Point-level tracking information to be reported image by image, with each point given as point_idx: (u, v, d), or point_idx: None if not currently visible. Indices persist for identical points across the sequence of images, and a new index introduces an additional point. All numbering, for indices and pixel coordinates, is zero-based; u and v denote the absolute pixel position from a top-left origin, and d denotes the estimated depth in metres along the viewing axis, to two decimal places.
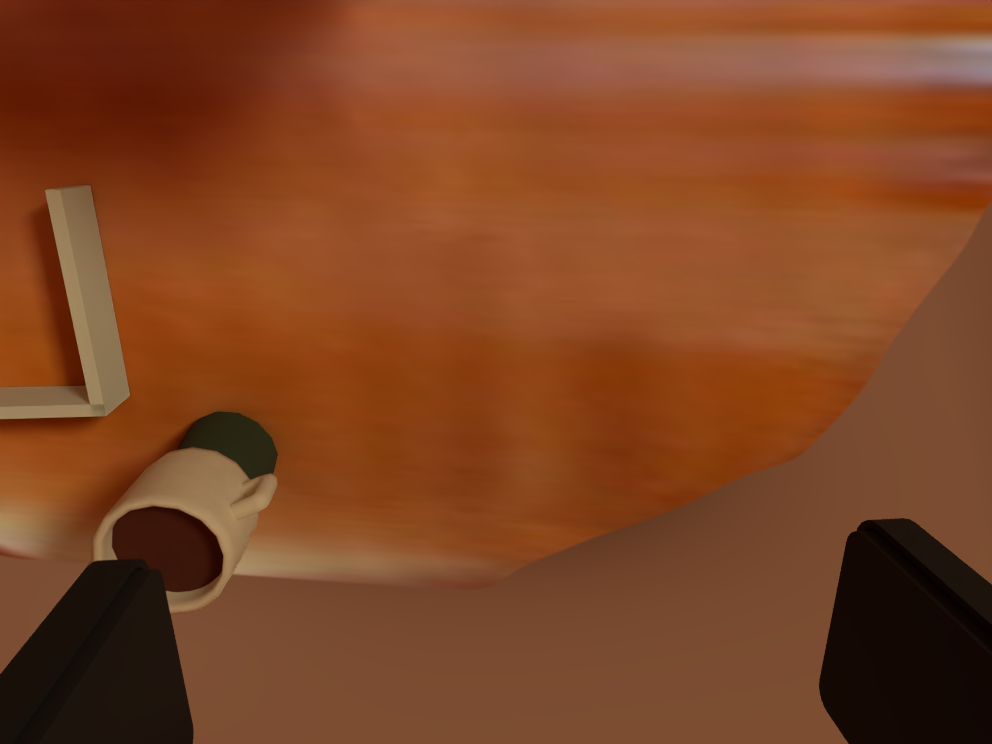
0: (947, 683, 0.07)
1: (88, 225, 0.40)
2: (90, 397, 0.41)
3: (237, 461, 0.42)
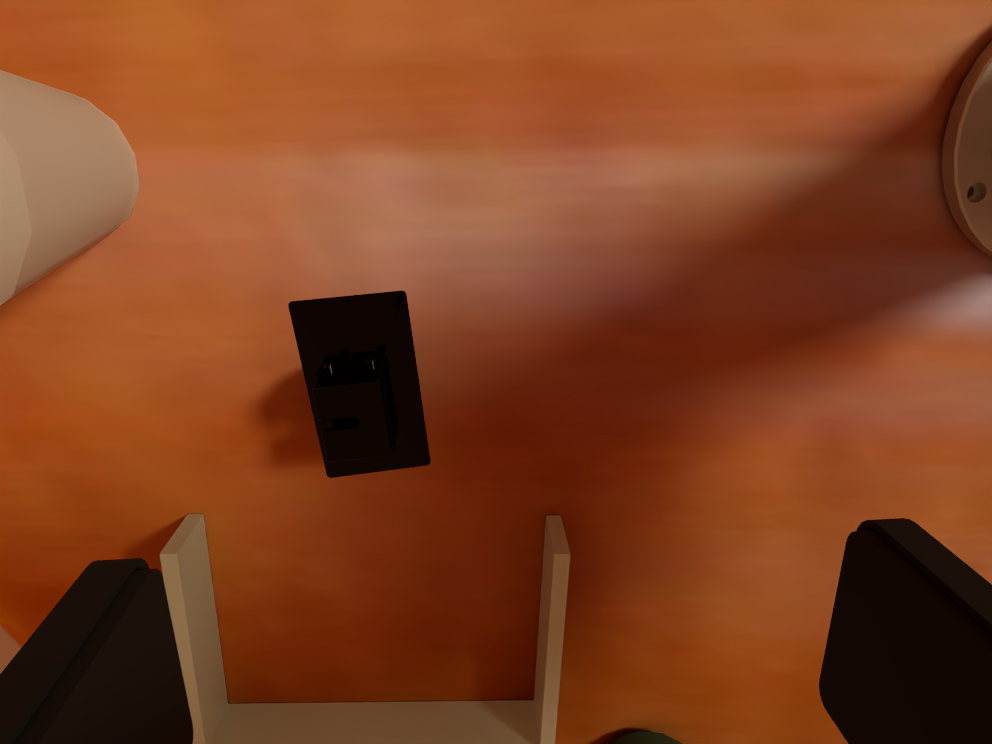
0: (947, 684, 0.07)
1: None
2: None
3: None
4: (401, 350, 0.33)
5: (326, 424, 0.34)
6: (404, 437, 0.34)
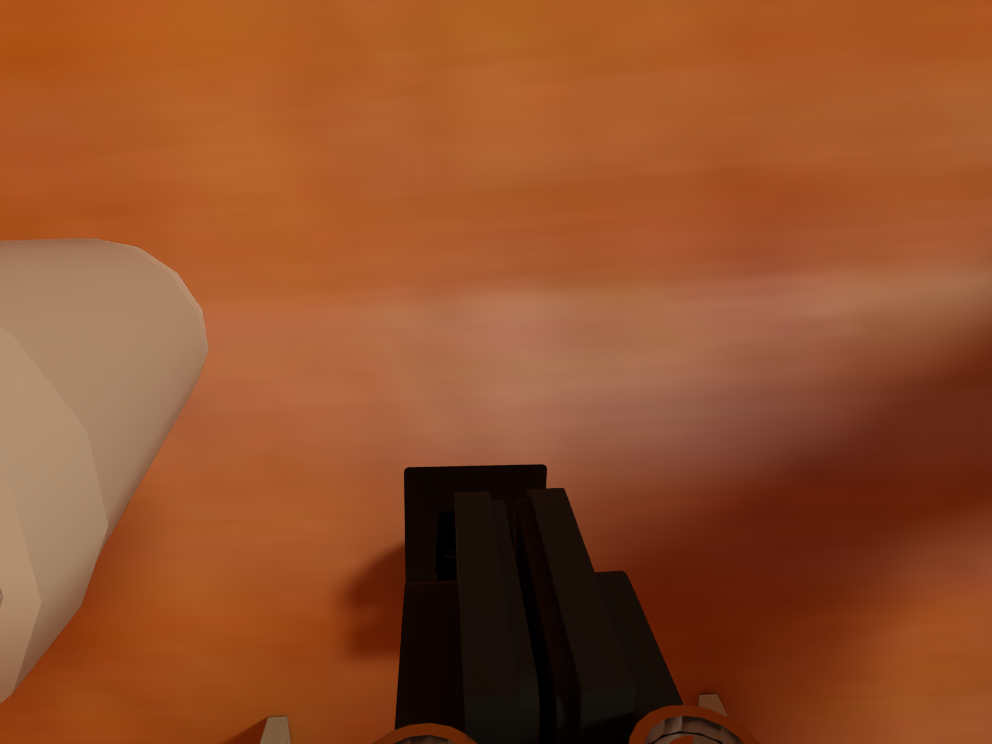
0: (532, 629, 0.08)
1: None
2: None
3: None
4: None
5: None
6: None
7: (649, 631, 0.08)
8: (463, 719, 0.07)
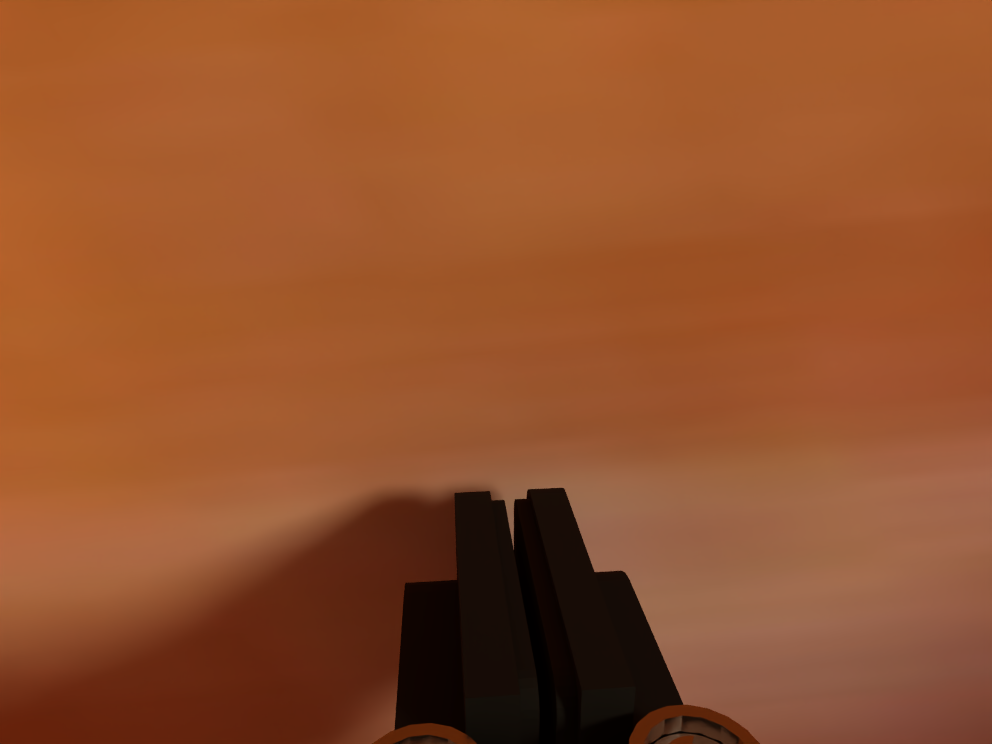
0: (532, 630, 0.08)
1: None
2: None
3: None
4: None
5: None
6: None
7: (649, 631, 0.08)
8: (463, 719, 0.07)
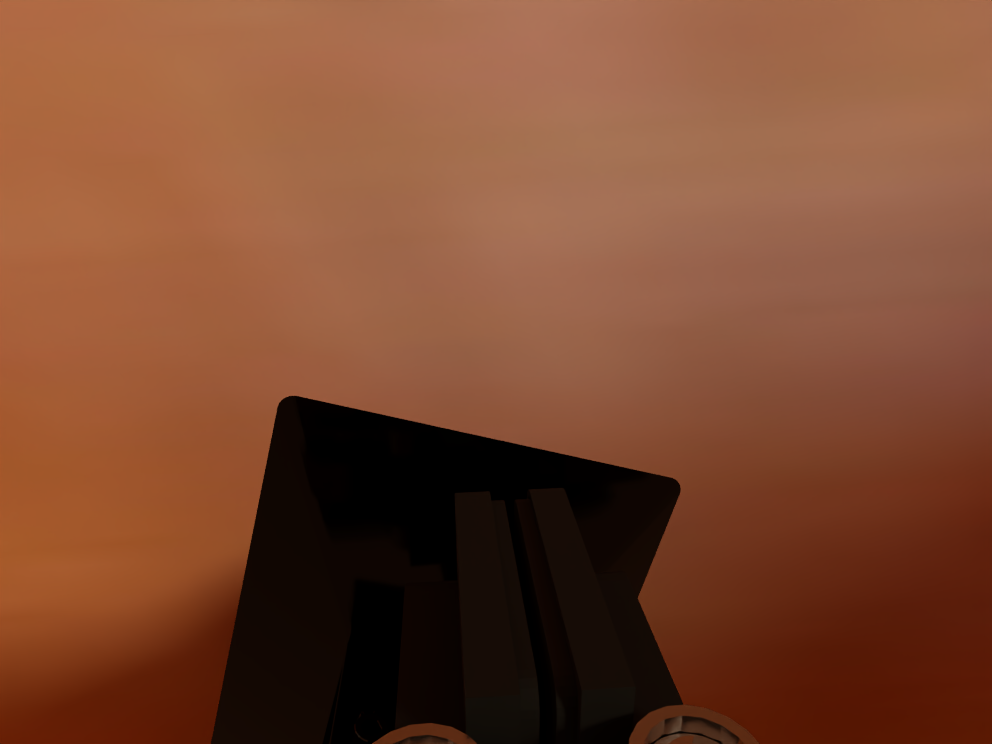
0: (532, 629, 0.08)
1: None
2: None
3: None
4: None
5: None
6: None
7: (649, 631, 0.08)
8: (463, 719, 0.07)
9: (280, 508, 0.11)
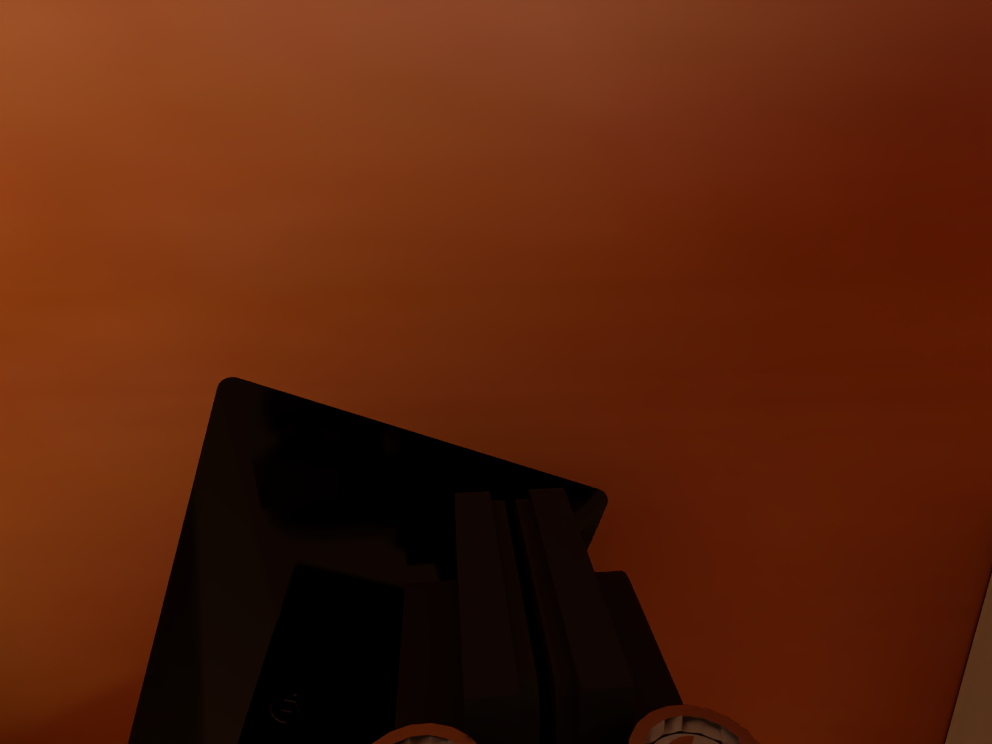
0: (532, 630, 0.08)
1: None
2: None
3: None
4: None
5: None
6: None
7: (649, 631, 0.08)
8: (463, 719, 0.07)
9: (214, 481, 0.10)
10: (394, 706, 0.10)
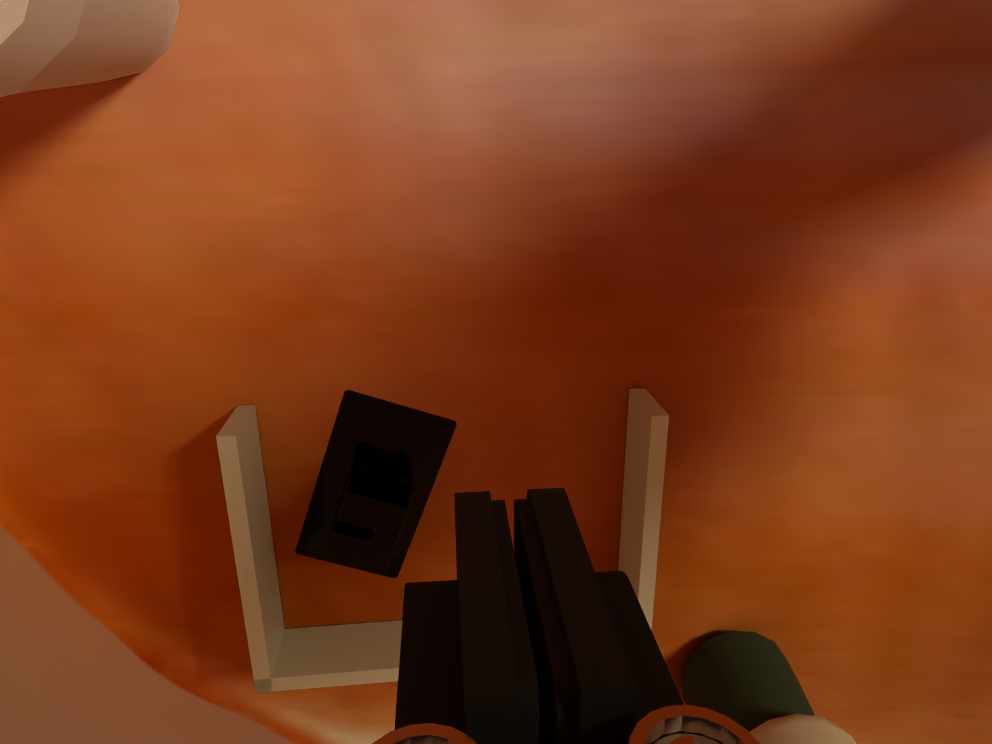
0: (532, 629, 0.08)
1: None
2: None
3: (810, 713, 0.35)
4: (425, 472, 0.34)
5: (321, 507, 0.34)
6: None
7: (649, 631, 0.08)
8: (463, 719, 0.07)
9: None
10: (394, 473, 0.32)
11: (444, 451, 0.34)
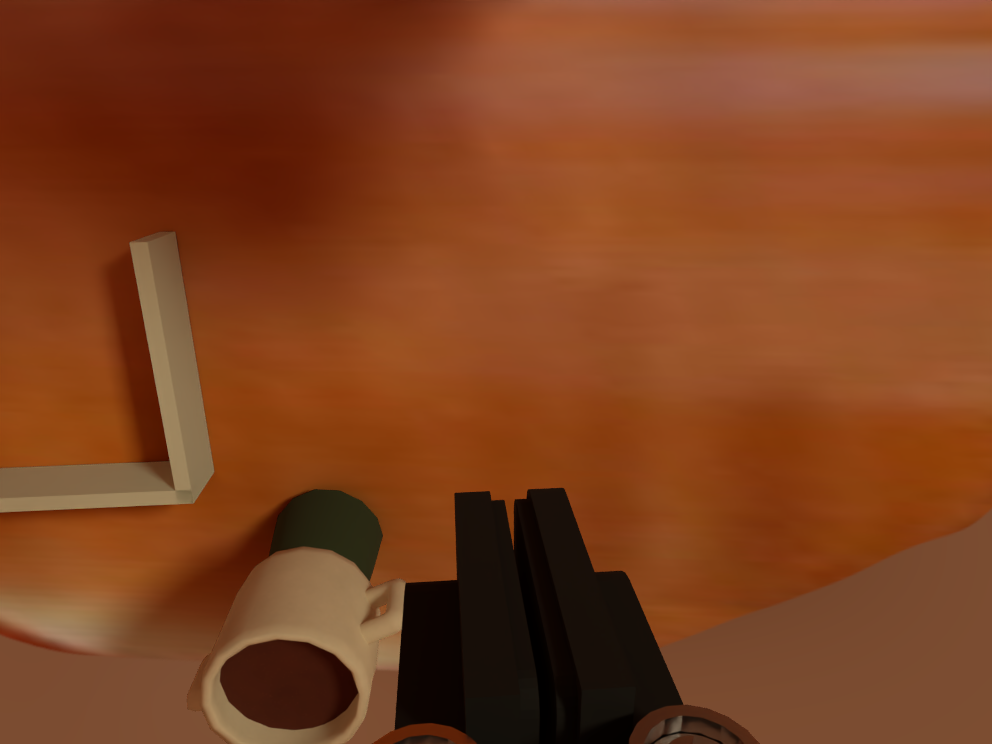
0: (532, 629, 0.08)
1: (174, 280, 0.34)
2: (176, 482, 0.35)
3: (350, 556, 0.35)
4: None
5: None
6: None
7: (649, 631, 0.08)
8: (463, 719, 0.07)
9: None
10: None
11: None
